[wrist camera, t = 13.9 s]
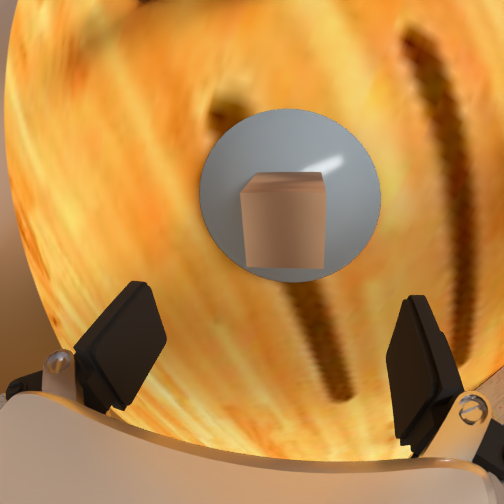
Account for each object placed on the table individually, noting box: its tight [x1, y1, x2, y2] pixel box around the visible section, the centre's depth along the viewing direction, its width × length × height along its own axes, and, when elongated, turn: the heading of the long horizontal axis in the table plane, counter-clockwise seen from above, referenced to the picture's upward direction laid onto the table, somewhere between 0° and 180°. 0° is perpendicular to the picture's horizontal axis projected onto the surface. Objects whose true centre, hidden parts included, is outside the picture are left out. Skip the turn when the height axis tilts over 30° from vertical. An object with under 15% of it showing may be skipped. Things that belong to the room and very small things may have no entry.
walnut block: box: [240, 172, 326, 269], centre depth 20 cm, size 5×5×6 cm
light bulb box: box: [474, 366, 504, 426], centre depth 26 cm, size 11×7×11 cm, turn 149°
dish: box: [199, 109, 381, 282], centre depth 23 cm, size 15×15×1 cm
